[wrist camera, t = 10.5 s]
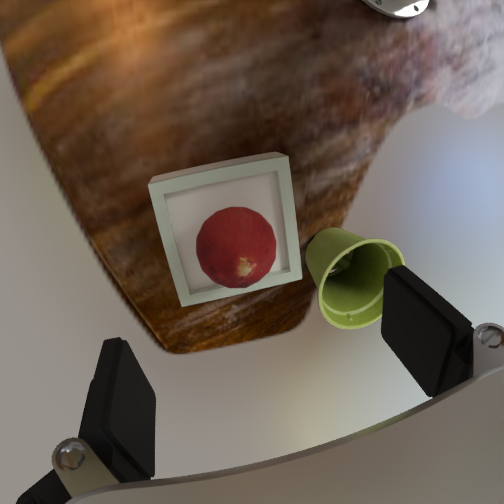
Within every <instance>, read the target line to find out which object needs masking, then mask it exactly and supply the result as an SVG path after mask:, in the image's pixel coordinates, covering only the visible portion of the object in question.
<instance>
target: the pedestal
mask: <svg viewBox="0 0 504 504" xmlns="http://www.w3.org/2000/svg"><path fill="white" fill-rule="evenodd" d="M148 188H149V192H150V196H151V200H152V204H153V208H154V212H155V216H156V220H157V223H158V227H159V231H160V235H161V238H162V242H163V246H164V249H165V253H166V256H167V260H168V263H169V267H170V270H171V274H172V277H173V280H174V284H175V287H176V290H177V293H178V297H179V300H180V303H181V306H182V307H184V306H189V305H193V304H198V303H202V302H207V301H211V300H216V299H220V298H225V297H229V296H234V295H238V294H242V293H247V292H251V291H255V290H259V289H263V288H268V287H272V286H276V285H280V284H284V283H288V282H292V281H296V280H300V279H302V270H301V260H300V250H299V240H298V231H297V222H296V213H295V205H294V196H293V188H292V180H291V172H290V165H289V157H288V156H287V155H284V154H281V153H278V152H270V153H264V154H258V155H253V156H247V157H241V158H236V159H231V160H226V161H221V162H216V163H211V164H206V165H201V166H197V167H192V168H187V169H183V170H179V171H174V172H170V173H166V174H161V175H157V176H153V177H152V179H151V180H150V182H149V184H148ZM228 207H247V208H249V209H251V210H253V211H256V212H258V213H260V214H261V215H262V216H263V217H264V218H265V219H266V220H267V221H268V222H269V224H270V225H271V226H272V228H273V231H274V235H275V238H276V242H277V245H276V259H275V261H274V263H273V265H272V267H271V269H270V271H269V273H267V274H266V275H265V276H264V277H263V278H262V279H261V280H260V281H259V282H257V283H255V284H253V285H251V286H249V287H247V288H227V287H224V286H222V285H219V284H217V283H214V282H213V281H212V280H211V279H210V278H209V277H208V276H207V275H206V274H205V273H204V272H203V271H202V269H201V267H200V264H199V261H198V258H197V255H196V238H197V235H198V233H199V231H200V229H201V227H202V224H203V223H204V221H205V220H206V219H208V218H209V217H210V216H211V215H213V214H214V213H215V212H216V211H219V210H222V209H225V208H228Z"/></svg>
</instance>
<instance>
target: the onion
mask: <svg viewBox="0 0 504 504" xmlns="http://www.w3.org/2000/svg"><path fill="white" fill-rule="evenodd" d="M276 245H277V242H276V238H275V235H274V231H273V228H272V226H271V225H270V224H269V222H268V221H267V220H266V219H265V218H264V217H263V216H262V215H261V214H260V213H258V212H256V211H253V210H251V209H249V208H247V207H228V208H225V209H222V210H219V211H216V212H215V213H214V214H213V215H211V216H210V217H209V218H208V219H206V220H205V221H204V223H203V224H202V227H201V229H200V231H199V233H198V235H197V238H196V255H197V258H198V261H199V264H200V267H201V269H202V271H203V272H204V273H205V274H206V275H207V276H208V277H209V278H210V279H211V280H212V281H213V282H214V283H217V284H219V285H222V286H224V287H227V288H247V287H249V286H251V285H253V284H255V283H257V282H259V281H260V280H261V279H262V278H263V277H264V276H265V275H266V274H267V273H269V271H270V269H271V267H272V265H273V263H274V261H275V259H276Z"/></svg>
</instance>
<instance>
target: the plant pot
mask: <svg viewBox="0 0 504 504" xmlns="http://www.w3.org/2000/svg"><path fill="white" fill-rule="evenodd" d="M349 251H350V252H349ZM348 252H349V254H347V253H348ZM305 260H306V264H307V267H308V269H309V271H310V273H311V276H312V278H313V280H314V282H315V284H316V287H317V290H318V294H317V296H318V305H319V308H320V311H321V313H322V314H323V316H324V318H325V319H326V320H327V321H328V322H329V323H330V324H332V325H334V326H336V327H338V328H342V329H358V328H362V327H365V326H367V325H369V324H371V323H373V322H375V321H377V320H378V319H379V318H381V317H382V307H383V286H384V275H385V274H387V271H388V269H389V268H393V267H396V266H399V265H404V266H405V262H404V259H403V256H402V254H401V252H400V251H399V250H398V248H396V247H395V246H394V245H393V244H392V243H390V242H388V241H386V240H383V239H377V238H372V239H371V238H370V239H365V238H362V237H360V236H357V235H355V234H353V233H350V232H348V231H345V230H343V229H340V228H327V229H324V230H322V231H320V232H319V233H317V234H316V235H315V237H314V238H313V239H312V241H311V242H310V243H309V245H308V246H307V249H306V253H305ZM333 269H336V270H335V271H334V272H332V273H329V272H330V270H333Z"/></svg>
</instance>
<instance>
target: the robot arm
mask: <svg viewBox="0 0 504 504" xmlns="http://www.w3.org/2000/svg"><path fill="white" fill-rule="evenodd" d="M362 1H363V2H365V3H366V4H367V5H368V6H370V7H371V8H373V9H375V10H376V11H378V12H380V13H382V14H385V15H387V16H390V17H394V18H410V17H414V16H416V15H419V14H420V13H422V12H423V11H424V10H425V9H426V7H427V5H428V3H429V0H362ZM471 325H472V323H471V322H470V321H469V320H468V319H467V318H466V317H464V315H463V314H461V313H460V312H459V311H458V310H457V309H456V308H454V307H453V306H452V305H451V304H450V303H449V302H448V301H446V300H445V299H444V298H443V297H442V296H441V295H439V294H438V293H437V292H436V291H435V290H434V289H432V288H431V287H430V286H429V285H428V284H426V283H425V282H424V281H423V280H421V279H420V278H419V277H418V276H417V275H415V274H414V273H413V272H412V271H410V270H409V269H408V268H407V267H405V266H404V265H399V266H396V267H393V268H389V269H388V271H387V274H385V275H384V286H383V307H382V323H381V334H382V337H383V339H384V340H385V342H386V343H387V344H388V345H389V347H390V348H391V349H392V351H393V352H394V353H395V354H396V356H397V357H398V358H399V359H400V361H401V362H402V363H403V365H404V366H405V367H406V368H407V370H408V371H409V372H410V374H411V375H412V376H413V378H414V379H415V380H416V381H417V383H418V384H419V386H420V387H421V388H422V389H423V391H424V392H425V393H426V395H427V396H428V397H433V398H432V399H430V400H428V401H426V402H424V403H422V404H420V405H418V406H416V407H414V408H412V409H410V410H408V411H405V412H403V413H401V414H399V415H397V416H394V417H392V418H390V419H388V420H385V421H383V422H381V423H378V424H376V425H373V426H371V427H368V428H366V429H363V430H361V431H358V432H356V433H353V434H350V435H347V436H345V437H342V438H339V439H336V440H333V441H330V442H327V443H324V444H322V445H318V446H316V447H312V448H309V449H306V450H302V451H299V452H295V453H292V454H288V455H285V456H281V457H278V458H273V459H269V460H265V461H262V462H257V463H253V464H248V465H244V466H239V467H234V468H229V469H224V470H219V471H213V472H207V473H201V474H194V475H188V476H180V477H172V478H164V479H155V480H151V477H154V475H155V411H156V396H155V393H154V391H153V389H152V387H151V385H150V383H149V382H148V380H147V378H146V376H145V374H144V373H143V371H142V369H141V367H140V365H139V363H138V361H137V359H136V357H135V356H134V353H133V352H132V350H131V348H130V346H129V344H128V342H127V341H126V340H122V339H121V338H120V337H117V338H112V339H107V340H104V342H103V345H102V349H101V353H100V356H99V360H98V363H97V367H96V371H95V375H94V378H93V380H92V381H91V383H90V387H89V391H88V395H87V399H86V403H85V408H84V412H83V416H82V421H81V425H80V430H79V435H78V438H73V437H72V438H69V439H66V440H64V441H62V442H61V443H59V445H57V447H56V448H55V450H54V451H53V454H52V465H53V467H54V469H53V470H52V471H50V472H49V473H48V474H47V475H45V476H44V477H43V478H42V479H40V480H39V481H38V482H37V483H36V484H34V485H33V486H32V487H31V488H29V489H28V490H27V491H26V492H24V493H23V494H22V495H21V496H20V497H19V498H18V500H17V502H16V504H504V328H503V327H502V326H500V325H497V324H494V323H484V324H481V325H479V326H477V327H476V329H474V328H473V327H471Z"/></svg>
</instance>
